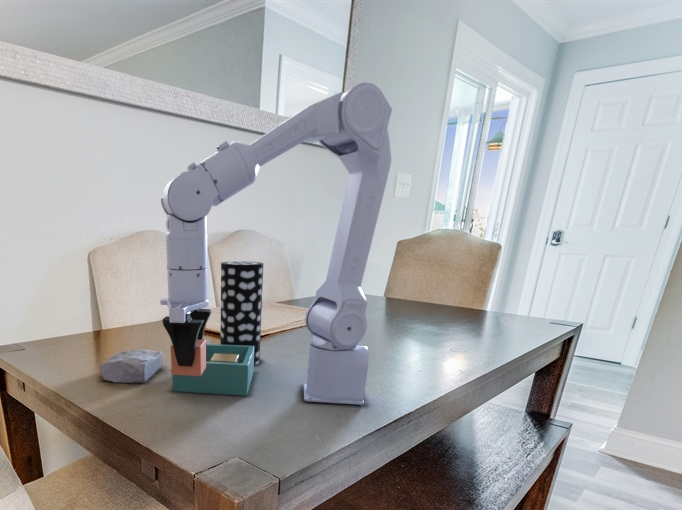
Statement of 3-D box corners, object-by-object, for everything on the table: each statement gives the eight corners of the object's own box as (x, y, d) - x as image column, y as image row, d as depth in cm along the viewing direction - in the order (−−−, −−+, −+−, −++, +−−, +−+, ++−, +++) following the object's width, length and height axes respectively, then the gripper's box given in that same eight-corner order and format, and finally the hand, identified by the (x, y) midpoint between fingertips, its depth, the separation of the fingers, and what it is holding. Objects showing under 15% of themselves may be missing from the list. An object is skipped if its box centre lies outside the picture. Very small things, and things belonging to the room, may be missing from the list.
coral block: (206, 367, 72) (206, 339, 71) (200, 376, 68) (200, 346, 67) (178, 366, 73) (177, 338, 71) (171, 374, 69) (170, 345, 67)
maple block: (238, 378, 84) (238, 354, 83) (235, 386, 80) (236, 361, 79) (214, 376, 85) (214, 353, 83) (210, 384, 81) (210, 360, 79)
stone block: (98, 390, 85) (148, 383, 83) (91, 365, 84) (141, 357, 81) (123, 373, 96) (167, 366, 94) (117, 350, 95) (162, 343, 92)
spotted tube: (266, 359, 99) (270, 262, 91) (247, 369, 92) (250, 265, 85) (232, 353, 103) (234, 260, 96) (212, 362, 96) (213, 263, 89)
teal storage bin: (253, 372, 90) (254, 345, 88) (247, 395, 78) (248, 365, 76) (188, 369, 92) (188, 342, 90) (172, 391, 80) (171, 361, 78)
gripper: (172, 263, 73) (174, 347, 77) (144, 273, 59) (150, 373, 64) (216, 264, 72) (216, 349, 76) (198, 274, 58) (199, 376, 63)
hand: (189, 360), depth 70 cm, fingers closed on coral block, 4 cm apart
